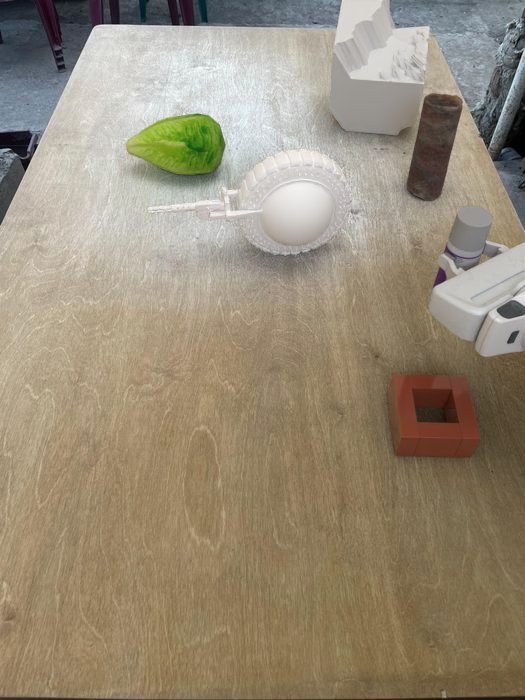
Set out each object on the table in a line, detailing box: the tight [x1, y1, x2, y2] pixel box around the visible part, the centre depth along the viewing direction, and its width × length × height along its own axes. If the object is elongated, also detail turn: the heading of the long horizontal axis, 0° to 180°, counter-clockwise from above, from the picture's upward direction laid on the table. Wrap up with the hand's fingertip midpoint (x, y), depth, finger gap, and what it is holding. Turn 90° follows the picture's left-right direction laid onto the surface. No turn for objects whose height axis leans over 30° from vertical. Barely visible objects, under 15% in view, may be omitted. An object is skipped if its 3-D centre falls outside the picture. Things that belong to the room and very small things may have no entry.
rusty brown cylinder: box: [406, 92, 464, 202], centre depth 121 cm, size 8×7×20 cm
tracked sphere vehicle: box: [147, 148, 353, 257], centre depth 108 cm, size 35×14×20 cm, turn 100°
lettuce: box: [125, 112, 226, 176], centre depth 128 cm, size 14×20×12 cm
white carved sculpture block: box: [328, 0, 431, 136], centre depth 137 cm, size 20×16×25 cm
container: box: [430, 204, 494, 294], centre depth 84 cm, size 5×5×15 cm
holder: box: [386, 373, 482, 458], centre depth 90 cm, size 11×11×5 cm
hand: (457, 249), depth 83 cm, fingers closed on container, 4 cm apart
